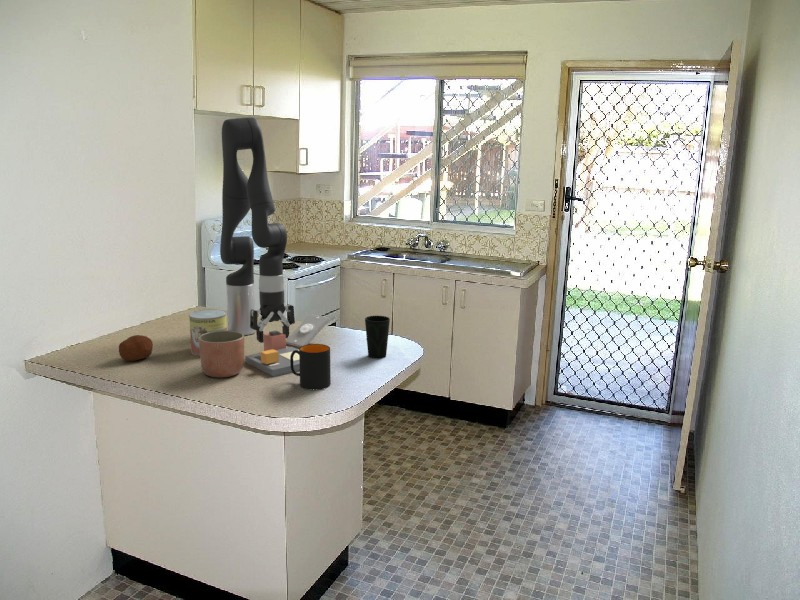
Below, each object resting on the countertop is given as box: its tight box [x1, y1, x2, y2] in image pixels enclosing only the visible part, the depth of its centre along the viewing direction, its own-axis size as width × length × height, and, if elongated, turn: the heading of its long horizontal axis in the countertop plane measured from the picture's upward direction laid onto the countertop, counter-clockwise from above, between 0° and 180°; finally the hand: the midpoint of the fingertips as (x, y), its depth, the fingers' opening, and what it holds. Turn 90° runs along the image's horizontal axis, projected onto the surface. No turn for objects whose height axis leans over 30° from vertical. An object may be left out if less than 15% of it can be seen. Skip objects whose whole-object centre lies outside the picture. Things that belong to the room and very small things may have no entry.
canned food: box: [188, 309, 228, 357], centre depth 211 cm, size 11×11×12 cm
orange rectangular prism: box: [260, 349, 279, 364], centre depth 194 cm, size 3×4×3 cm
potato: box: [118, 334, 154, 362], centre depth 202 cm, size 8×11×8 cm
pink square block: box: [263, 330, 287, 351], centre depth 210 cm, size 5×5×7 cm
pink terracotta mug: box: [198, 330, 245, 379], centre depth 190 cm, size 12×12×11 cm
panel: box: [244, 346, 300, 377], centre depth 200 cm, size 16×16×2 cm
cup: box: [364, 315, 391, 360], centre depth 208 cm, size 8×8×12 cm
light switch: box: [286, 313, 331, 349], centre depth 223 cm, size 8×6×14 cm
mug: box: [290, 343, 332, 391], centre depth 183 cm, size 8×12×10 cm
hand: (273, 340), depth 209 cm, fingers open, 8 cm apart
